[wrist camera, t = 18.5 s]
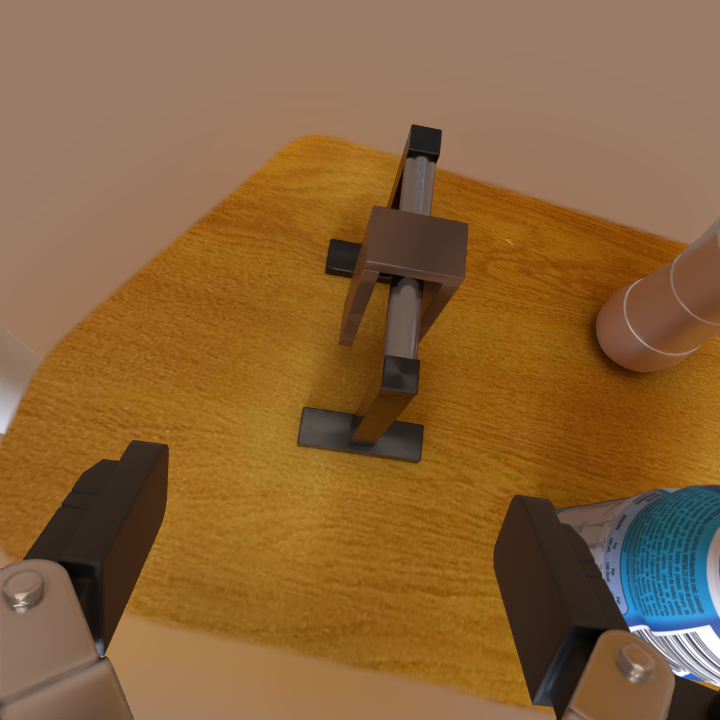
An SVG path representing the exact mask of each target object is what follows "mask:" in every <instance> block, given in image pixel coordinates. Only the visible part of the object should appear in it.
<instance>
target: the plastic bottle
mask: <svg viewBox="0 0 720 720" xmlns="http://www.w3.org/2000/svg"><path fill="white" fill-rule="evenodd" d="M596 333H597V339H598V341H599V344H600V346H601V348H602V350H603V351H604V352H605V354H606V355H607V356H608V357H609V358H610V359H611V360H612V361H614V362H615V363H617V364H618V365H620V366H622V367H624V368H627V369H629V370H632V371H636V372H653V371H658V370H662V369H667V368H670V367H672V366H675V365H677V364H678V363H679V362H681V361H682V360H684V359H685V358H686V357H688V356H689V355H691V354H692V353H693V352H694V351H695V350H697V349H698V348H699V347H700V345H702V344H703V343H705V342H707V341H708V340H710V339H711V338H713V337H715V336H716V335H718V334H719V333H720V218H719V219H718V220H717V221H716V222H715V223H714V224H713V225H712V226H711V227H710V228H709V229H708V230H707V231H706V232H705V233H704V234H703V235H702V236H701V237H700V238H699V239H698V240H697V241H695V242H694V243H693V244H692V245H691V246H689V247H688V248H687V249H686V250H685V251H684V252H683V253H681V254H680V255H679V256H678V257H676V258H675V259H674V260H673V261H672V262H670V263H668V264H667V265H665V266H663V267H662V268H660V269H658V270H657V271H655V272H653V273H652V274H650V275H648V276H647V277H645V278H642V279H639V280H637V281H634V282H632V283H630V284H628V285H626V286H624V287H622V288H621V289H619V290H617V291H616V292H614V293H613V294H612V295H611V296H610V298H609V299H608V300H607V301H606V302H605V304H604V305H603V306H602V308H601V309H600V311H599V313H598V316H597V319H596Z"/></svg>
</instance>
